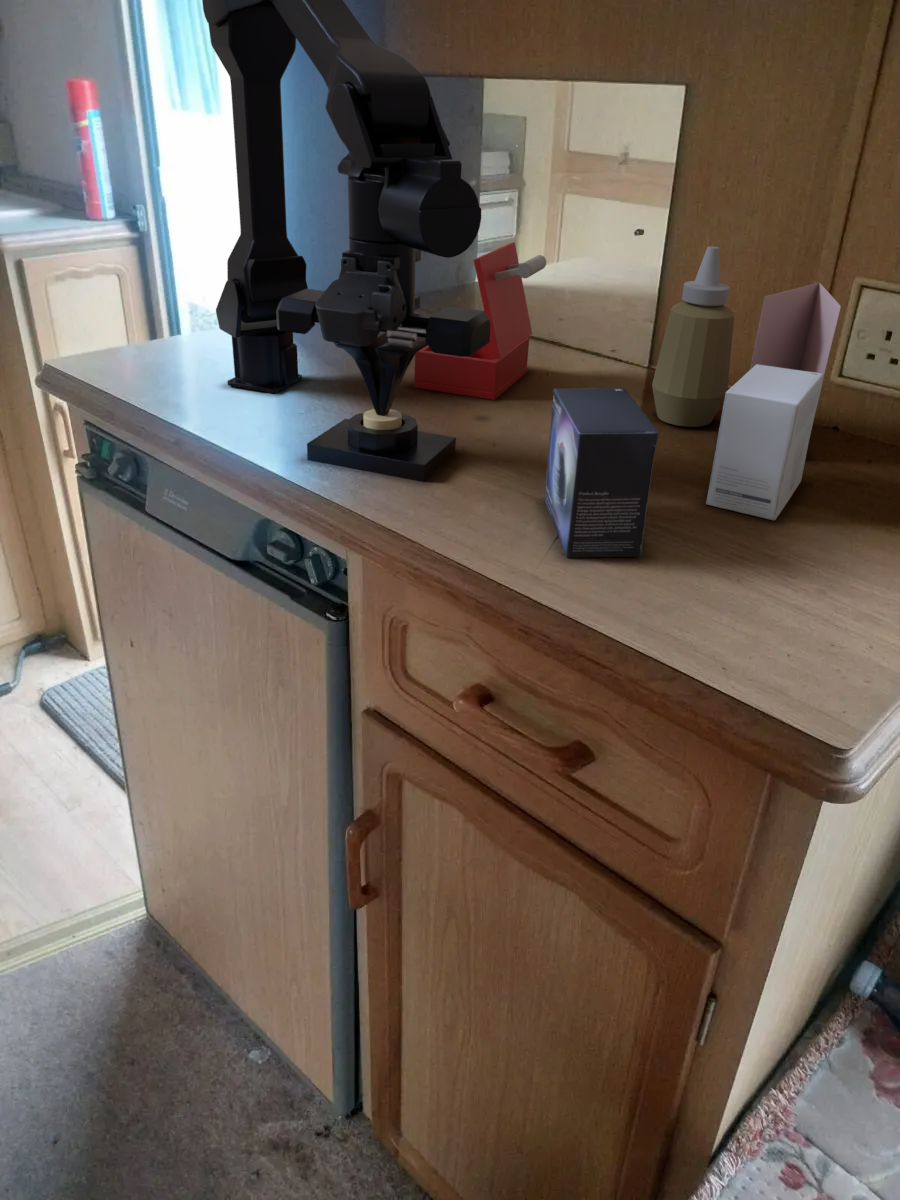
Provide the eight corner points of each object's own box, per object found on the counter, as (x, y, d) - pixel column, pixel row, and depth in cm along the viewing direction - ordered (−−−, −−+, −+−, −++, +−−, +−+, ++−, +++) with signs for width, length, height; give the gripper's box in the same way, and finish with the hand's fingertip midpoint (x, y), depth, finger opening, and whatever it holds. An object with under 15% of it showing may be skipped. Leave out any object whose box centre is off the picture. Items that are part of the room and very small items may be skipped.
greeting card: (779, 420, 102) (811, 281, 94) (844, 438, 97) (882, 293, 90) (726, 444, 94) (756, 295, 87) (793, 464, 90) (831, 309, 82)
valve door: (473, 259, 98) (517, 249, 96) (509, 243, 108) (550, 234, 106) (494, 359, 102) (537, 352, 100) (527, 334, 112) (566, 327, 110)
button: (357, 435, 86) (356, 417, 85) (373, 423, 89) (373, 406, 88) (392, 441, 85) (392, 423, 84) (407, 429, 87) (407, 411, 87)
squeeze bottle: (727, 415, 102) (760, 246, 93) (713, 437, 96) (747, 257, 87) (656, 403, 105) (682, 238, 96) (638, 424, 99) (664, 248, 90)
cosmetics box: (733, 468, 89) (755, 360, 83) (800, 483, 86) (828, 373, 81) (701, 504, 81) (723, 388, 76) (774, 522, 78) (803, 403, 73)
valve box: (414, 387, 107) (414, 351, 105) (452, 361, 117) (453, 327, 115) (494, 400, 104) (496, 362, 102) (526, 372, 114) (529, 337, 112)
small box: (538, 502, 80) (549, 385, 75) (611, 502, 80) (627, 385, 75) (561, 558, 71) (575, 429, 65) (643, 558, 71) (664, 430, 66)
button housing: (307, 460, 86) (305, 425, 85) (345, 434, 93) (344, 400, 91) (424, 482, 83) (425, 446, 81) (455, 453, 89) (457, 419, 88)
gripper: (236, 240, 74) (250, 424, 82) (450, 264, 69) (443, 459, 76) (303, 223, 83) (310, 391, 91) (497, 243, 78) (486, 419, 85)
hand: (382, 414), depth 86 cm, fingers closed, pressing on button
